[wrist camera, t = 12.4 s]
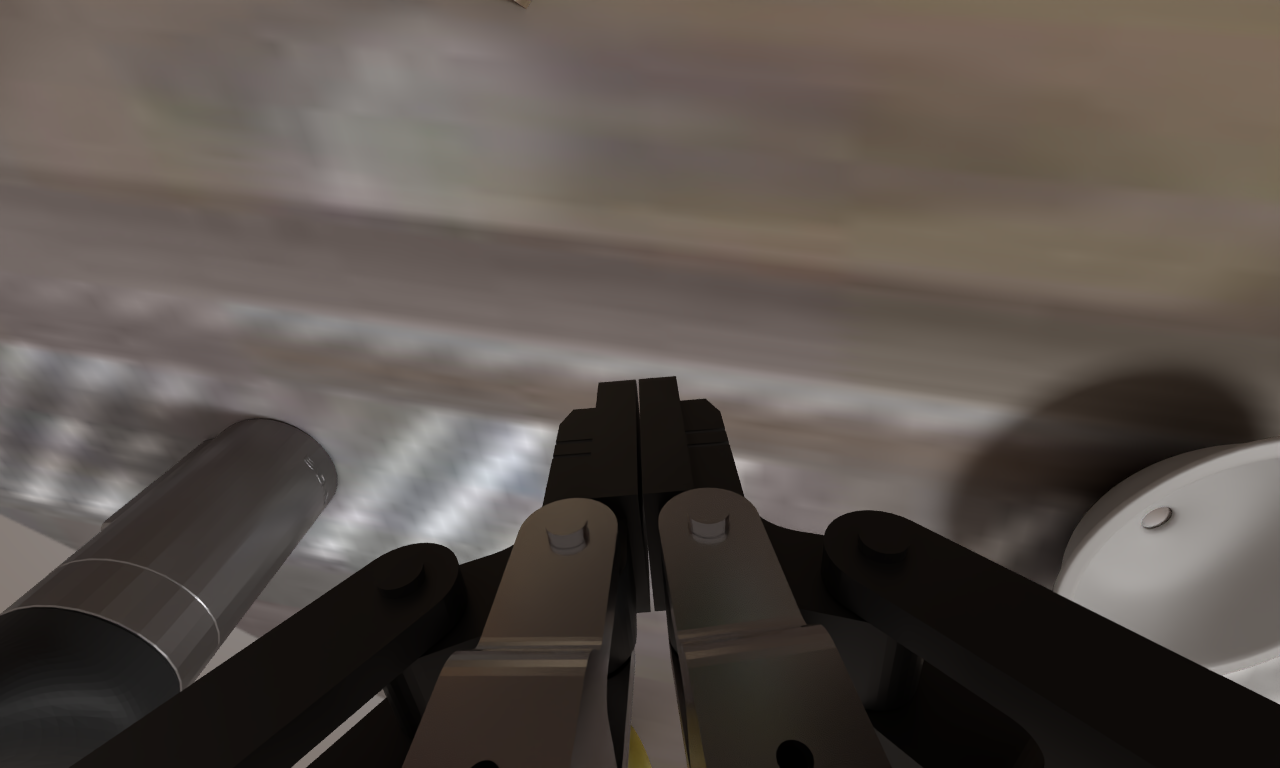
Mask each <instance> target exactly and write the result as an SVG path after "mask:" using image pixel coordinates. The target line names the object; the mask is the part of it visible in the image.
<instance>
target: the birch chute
mask: <svg viewBox="0 0 1280 768" xmlns="http://www.w3.org/2000/svg"><path fill="white" fill-rule="evenodd" d="M514 1H515V2H517V3H518V4H520V5H521V6H523V7H524V8H525V9H527V7H528V5H529V4H530V2H531V1H532V0H514Z"/></svg>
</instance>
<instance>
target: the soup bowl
mask: <svg viewBox="0 0 1280 768" xmlns="http://www.w3.org/2000/svg"><path fill="white" fill-rule="evenodd" d="M1160 507H1169V508H1170V509H1171V510H1172V516H1171V518H1170V519H1169V520H1168V521H1167V522H1166V523H1164V524H1163V525H1161V526H1159V527H1156V528H1152V529H1149V528H1145V527H1143V526H1142V520H1143V518H1144V517H1145V516H1146V515H1147V514H1148V513H1149V512H1150V511H1152V510H1154V509H1157V508H1160ZM1053 592H1055V593H1057V594H1059V595H1061V596H1063V597H1065V598H1067V599H1069V600H1071V601H1073V602H1075V603H1077V604H1079V605H1081V606H1083V607H1085V608H1087V609H1089V610H1091V611H1093V612H1095V613H1097V614H1099V615H1101V616H1103V617H1105V618H1107V619H1109V620H1111V621H1113V622H1115V623H1117V624H1119V625H1121V626H1123V627H1125V628H1127V629H1129V630H1131V631H1133V632H1135V633H1137V634H1139V635H1141V636H1143V637H1145V638H1147V639H1149V640H1151V641H1153V642H1155V643H1157V644H1159V645H1161V646H1163V647H1165V648H1167V649H1169V650H1171V651H1173V652H1175V653H1177V654H1179V655H1181V656H1183V657H1185V658H1187V659H1189V660H1191V661H1193V662H1195V663H1197V664H1199V665H1201V666H1203V667H1205V668H1207V669H1209V670H1211V671H1213V672H1215V673H1217V674H1219V675H1224V674H1228V673H1232V672H1236V671H1240V670H1243V669H1246V668H1249V667H1253V666H1255V665H1258V664H1261V663H1264V662H1267V661H1269V660H1272V659H1274V658H1277V657H1279V656H1280V436H1278V437H1272V438H1266V439H1261V440H1256V441H1252V442H1248V443H1237V444H1228V445H1220V446H1213V447H1208V448H1203V449H1198V450H1194V451H1190V452H1186V453H1183V454H1180V455H1177V456H1174V457H1170V458H1167V459H1165V460H1162V461H1160V462H1157V463H1155V464H1153V465H1151V466H1148V467H1146V468H1144V469H1142V470H1140V471H1139V472H1137V473H1135V474H1133V475H1131V476H1130V477H1128V478H1126V479H1125V480H1123V481H1122V482H1120V483H1119V484H1117V485H1116V486H1115V487H1113V488H1112V489H1111V490H1109V491H1108V492H1107V493H1106V494H1105V495H1103V496H1102V497H1101V498H1100V499H1099V500H1098V501H1097V502H1096V503H1095V504H1094V505H1093V506H1092V507H1091V508H1090V509H1089V510H1088V512H1087V513H1086V514H1085V515H1084V517H1083V518H1082V519H1081V521H1080V522H1079V524H1078V525H1077V527H1076V528H1075V530H1074V532H1073V534H1072V536H1071V538H1070V540H1069V542H1068V545H1067V547H1066V550H1065V553H1064V557H1063V561H1062V566H1061V570H1060V572H1059V574H1058V576H1057V579H1056V581H1055V584H1054V587H1053Z"/></svg>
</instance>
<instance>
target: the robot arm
mask: <svg viewBox="0 0 1280 768" xmlns="http://www.w3.org/2000/svg"><path fill="white" fill-rule="evenodd" d="M639 399H640V413H639V403H638V393H637V384H636V380H625V381H613V382H601V383H599V384H598V392H597V402H596V408H588V409H576V410H573V411H572V412H571V413H570V414H569V415H568V416H567V417H566V418H565V420H564V421H563V422H562V423H561V424H560V425H559V430H558V435H557V440H556V445H555V449H554V454H553V459H552V463H551V468H550V473H549V478H548V482H547V487H546V492H545V497H544V501H543V506H542V507H541V508H540V509H538V510H536V511H535V512H534V513H532V514H531V515H530V516H529V517H528V518H527V519H526V520H525V522H524V523H523V524H522V526H521V528H520V530H519V532H518V535H517V538H516V541H515V543H514V545H512V546H511V547H509V548H507V549H505V550H502V551H500V552H497V553H495V554H492V555H489V556H486V557H483V558H480V559H476V560H473V561H470V562H467V563H464V564H461V565H459V564H458V560H457V557H456V556H455V554H454V553H453V552H452V551H451V550H450V549H448V548H447V547H445V546H442V545H439V544H434V543H417V544H411V545H407V546H403V547H400V548H397V549H395V550H392V551H390V552H388V553H386V554H384V555H382V556H380V557H379V558H377V559H375V560H374V561H372V562H371V563H369V564H368V565H366V566H365V567H364V568H362V569H361V570H359V571H358V572H356V573H355V574H353V575H352V576H350V577H349V578H347V579H346V580H344V581H343V582H341V583H340V584H338V585H337V586H336V587H334V588H333V589H331V590H330V591H328V592H327V593H325V594H324V595H322V596H321V597H319V598H318V599H316V600H315V601H313V602H312V603H310V604H309V605H308V606H306V607H305V608H303V609H302V610H300V611H299V612H297V613H296V614H294V615H293V616H291V617H290V618H288V619H287V620H285V621H284V622H283V623H281V624H280V625H278V626H277V627H275V628H274V629H272V630H271V631H269V632H268V633H266V634H265V635H263V636H262V637H260V638H259V639H257V640H256V641H255V642H253V643H252V644H250V645H249V646H247V647H246V648H244V649H243V650H241V651H240V652H238V653H237V654H235V655H234V656H233V657H231V658H230V659H228V660H227V661H225V662H224V663H222V664H221V665H219V666H218V667H216V668H215V669H213V670H212V671H210V672H209V673H207V674H206V675H204V676H203V677H202V678H200V679H199V680H197V681H196V682H194V681H195V680H196V679H197V677H198V676H199V675H200V673H201V672H202V671H203V669H204V668H205V666H206V665H207V664H208V663H209V661H210V660H211V659H212V657H213V656H214V655H215V653H216V652H217V650H218V649H219V648H220V646H221V645H222V644H223V642H224V641H225V640H226V639H227V637H228V636H229V634H230V633H231V632H232V630H233V629H234V628H235V627H236V625H237V624H238V623H239V621H240V620H241V619H242V617H243V616H244V615H245V613H246V612H247V611H248V609H249V608H250V607H251V605H252V604H253V603H254V601H255V600H256V599H257V598H258V596H259V595H260V594H261V592H262V591H263V590H264V588H265V587H266V586H267V584H268V583H269V582H270V580H271V579H272V578H273V576H274V575H275V574H276V572H277V571H278V570H279V568H280V567H281V566H282V564H283V563H284V562H285V560H286V559H287V558H288V557H289V555H290V554H291V553H292V551H293V550H294V549H295V547H296V546H297V545H298V543H299V542H300V541H301V539H302V538H303V537H304V535H305V534H306V533H307V532H308V530H309V529H310V528H311V526H312V525H313V524H314V522H315V521H316V520H317V518H318V517H319V516H320V514H321V513H322V512H323V510H324V509H325V508H326V506H327V505H328V504H329V502H330V501H331V499H332V498H333V496H334V495H335V492H336V489H337V473H336V469H335V465H334V464H333V462H332V460H331V458H330V456H329V455H328V453H327V452H326V451H325V450H324V449H323V447H322V446H321V445H320V444H319V443H318V442H316V441H315V440H314V439H313V438H312V437H310V436H309V435H307V434H306V433H304V432H302V431H301V430H299V429H297V428H295V427H292V426H290V425H288V424H285V423H281V422H278V421H274V420H266V419H252V420H245V421H241V422H238V423H235V424H233V425H232V426H230V427H228V428H227V429H225V430H224V431H223V432H222V433H221V434H219V435H218V436H217V437H216V438H214V439H213V440H205V441H204V442H202V443H201V444H200V445H199V446H198V447H196V448H195V449H194V450H193V451H191V452H190V453H189V454H188V455H186V456H185V457H184V458H183V459H181V460H180V461H179V462H178V463H176V464H175V465H174V466H173V467H171V468H170V469H169V470H168V471H166V472H165V473H164V474H163V475H161V476H160V477H159V478H158V479H156V480H155V481H154V482H153V483H151V484H150V485H149V486H148V487H146V488H145V489H144V490H143V491H142V492H140V493H139V494H138V495H137V496H135V497H134V498H133V499H132V500H130V501H129V502H128V503H127V504H125V505H124V506H123V507H122V508H120V509H119V510H118V511H117V512H115V513H114V514H113V515H112V516H110V517H109V518H108V519H107V520H105V522H104V523H103V524H102V527H101V532H99V533H98V534H97V535H96V536H95V537H93V538H92V539H91V540H90V541H88V542H87V543H86V544H85V545H84V546H82V547H81V548H80V549H79V550H77V551H76V552H75V553H74V554H73V555H71V556H70V557H69V558H68V559H67V560H65V561H64V562H63V563H62V564H61V565H59V566H58V567H57V568H56V569H54V570H53V571H52V572H51V573H49V575H47V576H46V577H45V578H44V579H43V580H41V581H40V582H39V583H38V584H36V585H35V586H34V587H33V588H32V589H30V590H29V591H28V592H27V593H25V594H24V595H23V596H22V597H21V598H19V599H18V600H17V601H16V602H14V603H13V604H12V605H11V606H10V607H8V608H7V609H6V610H5V611H3V613H1V614H0V768H291V767H292V766H293V765H294V764H296V763H297V762H298V761H299V760H300V759H301V758H302V757H304V756H305V755H306V754H307V753H308V752H309V751H311V750H312V749H313V748H314V747H315V746H317V745H318V744H319V743H320V742H321V741H322V740H324V739H325V738H326V737H327V736H328V735H329V734H331V733H332V732H333V731H334V730H335V729H336V728H337V727H338V726H340V725H341V724H342V723H343V722H345V721H346V720H347V719H348V718H349V717H350V716H352V715H353V714H354V713H355V712H356V711H357V710H359V709H360V708H361V707H362V706H363V705H364V704H365V703H367V702H368V701H369V700H370V699H371V698H373V697H374V696H375V695H376V694H377V693H378V692H380V691H381V690H382V689H383V690H384V693H385V695H386V698H385V699H384V700H383V701H382V702H381V703H380V704H379V705H377V706H376V707H375V708H374V709H373V710H372V711H371V712H369V713H368V714H367V715H366V716H365V717H364V718H363V719H361V720H360V721H359V722H358V723H357V724H356V725H355V726H354V727H352V728H351V729H350V730H349V731H348V732H346V734H344V735H343V736H342V737H341V738H340V739H338V740H337V741H336V742H335V743H334V744H333V745H332V746H330V747H329V748H328V749H327V750H326V751H325V752H324V753H322V754H321V755H320V756H319V757H318V758H317V759H316V760H314V761H313V762H312V763H311V764H310V765H309V766H308V767H306V768H628V758H629V744H630V731H631V717H632V703H633V689H634V676H635V649H634V647H635V644H636V637H637V619H636V613H642V612H651V610H650V585H649V560H650V570H651V579H652V589H653V599H654V608H655V611H665V610H666V615H667V626H668V635H669V647H670V658H671V665H672V671H673V678H674V684H675V691H676V697H677V703H678V710H679V716H680V722H681V729H682V735H683V741H684V748H685V754H686V761H687V767H688V768H1280V704H1278V703H1276V702H1274V701H1272V700H1270V699H1268V698H1266V697H1264V696H1262V695H1260V694H1258V693H1256V692H1254V691H1252V690H1250V689H1248V688H1246V687H1244V686H1241V685H1239V684H1237V683H1235V682H1233V681H1231V680H1229V679H1227V678H1225V677H1223V676H1221V675H1219V674H1217V673H1215V672H1213V671H1211V670H1209V669H1207V668H1205V667H1203V666H1201V665H1199V664H1197V663H1195V662H1193V661H1191V660H1189V659H1187V658H1185V657H1183V656H1181V655H1179V654H1177V653H1175V652H1173V651H1171V650H1169V649H1167V648H1165V647H1163V646H1161V645H1159V644H1157V643H1155V642H1153V641H1151V640H1149V639H1147V638H1145V637H1143V636H1141V635H1139V634H1137V633H1135V632H1133V631H1131V630H1129V629H1127V628H1125V627H1123V626H1121V625H1119V624H1117V623H1115V622H1113V621H1111V620H1109V619H1107V618H1105V617H1103V616H1101V615H1099V614H1097V613H1095V612H1093V611H1091V610H1089V609H1087V608H1085V607H1083V606H1081V605H1079V604H1077V603H1075V602H1073V601H1071V600H1069V599H1067V598H1065V597H1063V596H1061V595H1059V594H1057V593H1055V592H1053V591H1051V590H1049V589H1047V588H1045V587H1043V586H1041V585H1039V584H1037V583H1035V582H1033V581H1031V580H1029V579H1027V578H1025V577H1023V576H1021V575H1019V574H1017V573H1015V572H1013V571H1011V570H1009V569H1007V568H1005V567H1003V566H1001V565H999V564H997V563H995V562H993V561H991V560H989V559H987V558H985V557H983V556H981V555H979V554H977V553H975V552H973V551H971V550H969V549H967V548H965V547H963V546H961V545H959V544H957V543H955V542H953V541H951V540H949V539H947V538H945V537H943V536H941V535H939V534H937V533H935V532H933V531H931V530H929V529H927V528H925V527H923V526H921V525H919V524H917V523H915V522H913V521H911V520H908V519H906V518H904V517H901V516H898V515H895V514H892V513H887V512H882V511H873V510H863V511H855V512H851V513H847V514H844V515H842V516H840V517H838V518H836V519H835V520H833V521H832V522H831V523H830V524H829V526H828V527H827V529H826V531H825V535H819V534H813V533H806V532H800V531H795V530H790V529H786V528H783V527H779V526H777V525H774V524H772V523H770V522H768V521H766V520H765V519H763V518H761V517H760V516H759V514H758V512H757V510H756V508H755V507H754V506H753V504H752V503H751V502H750V501H748V500H747V499H746V498H745V497H744V494H743V490H742V487H741V483H740V480H739V476H738V473H737V469H736V466H735V462H734V459H733V455H732V451H731V448H730V445H729V441H728V437H727V434H726V431H725V427H724V423H723V420H722V416H721V413H720V411H719V410H718V409H717V408H715V407H714V406H713V405H712V404H711V403H710V402H709V401H707V400H706V399H696V400H684V401H680V398H679V392H678V386H677V380H676V376H672V377H660V378H648V379H639ZM648 551H649V560H648Z"/></svg>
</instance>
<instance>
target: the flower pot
mask: <svg viewBox="0 0 1280 768" xmlns="http://www.w3.org/2000/svg"><path fill="white" fill-rule="evenodd" d="M628 768H651V765H650V762H649V759H648V756H647V754H646V751H645V749H644V747H643V745H642V742H641V740H640V739H639V737H638V735H637V733H636V732H635V730H634V729H633V727H632V726H631V731H630V744H629V758H628Z"/></svg>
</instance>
